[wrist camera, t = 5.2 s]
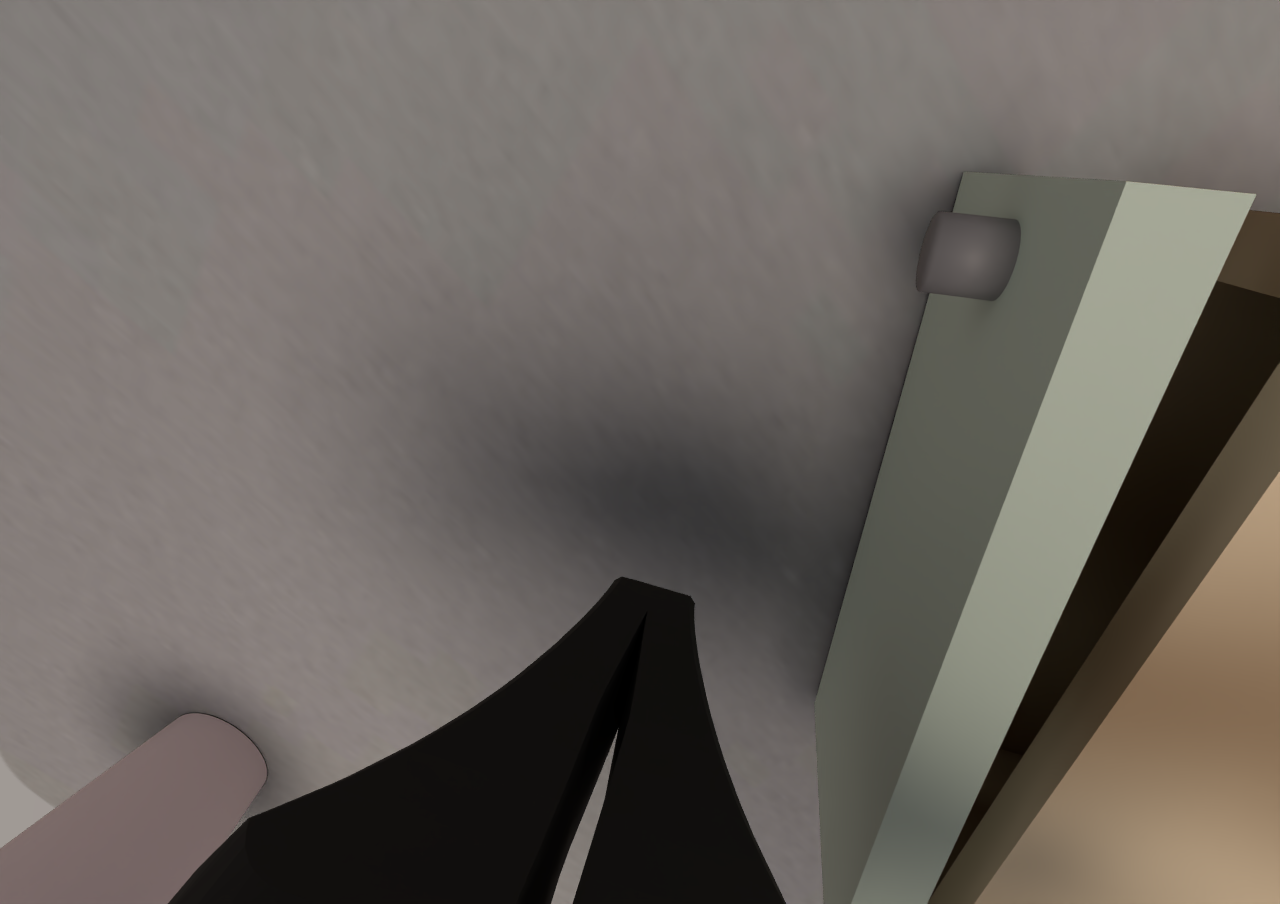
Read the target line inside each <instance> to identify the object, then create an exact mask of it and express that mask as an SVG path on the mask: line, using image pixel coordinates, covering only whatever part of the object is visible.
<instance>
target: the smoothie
mask: <svg viewBox="0 0 1280 904" xmlns="http://www.w3.org/2000/svg"><path fill="white" fill-rule="evenodd" d="M266 778H267V768H266V764H265V761H264V759H263V757H262V755H261V753H260V752H259V750H258V749H257V747H256V746H255V745H254V744H253V743H252V741H251V740H250V739H249V738H248V737H247V736H245V735H244V734H243V733H242V732H241V731H239V730H238V729H237V728H235V727H234V726H232V725H230V724H229V723H227V722H225V721H223V720H221V719H218V718H216V717H213V716H210V715H206V714H200V713H190V714H185V715H182V716H180V717H178V718H177V719H176V720H174V721H173V722H172V723H170V724H169V725H168V726H166V727H165V728H163V729H162V730H161V731H159V732H158V733H157V734H155V735H154V736H153V737H151V738H150V739H148V740H147V741H146V742H144V743H143V744H142V745H140V746H139V747H138V748H136V749H135V750H134V751H132V752H131V753H129V754H128V755H127V756H125V757H124V758H123V759H121V760H120V761H119V762H117V763H116V764H114V765H113V766H112V767H110V768H109V769H108V770H106V771H105V772H104V773H102V774H101V775H100V776H98V777H97V778H95V779H94V780H93V781H91V782H90V783H89V784H87V785H86V786H85V787H83V788H82V789H80V790H79V791H78V792H76V793H75V794H74V795H72V796H71V797H70V798H68V799H67V800H65V801H64V802H63V803H61V804H60V805H59V806H57V807H56V808H55V809H53V810H52V811H51V812H49V813H48V814H46V815H45V816H44V817H43V818H41V819H40V820H38V821H37V822H36V823H35V824H33V825H31V826H30V827H29V828H27V829H26V830H25V831H23V832H22V833H21V834H19V835H18V836H17V837H15V838H14V839H12V840H11V841H10V842H8V843H7V844H6V845H4V846H3V847H2V848H0V904H168V903H169V902H170V900H171V899H172V898H173V897H174V896H175V894H176V893H177V892H178V891H179V890H180V889H181V887H182V886H183V885H184V884H185V883H186V881H187V880H188V879H189V878H190V877H191V875H192V874H193V873H194V872H195V871H196V870H197V869H198V868H199V867H200V866H201V865H202V864H203V863H204V862H205V861H206V860H207V859H208V858H209V857H210V856H211V855H212V854H213V853H214V852H215V851H216V850H217V849H218V848H219V847H220V846H221V845H222V844H223V843H224V842H225V841H226V840H227V838H228V837H229V835H230V834H231V832H232V831H233V829H234V828H235V826H236V825H237V823H238V822H239V820H240V819H241V817H242V816H243V815H244V813H245V812H246V810H247V809H248V807H249V806H250V804H251V803H252V801H253V800H254V798H255V797H256V795H257V794H258V792H259V791H260V789H261V788H262V786H263V785H264V783H265V781H266Z"/></svg>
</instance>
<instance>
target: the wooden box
mask: <svg viewBox="0 0 1280 904" xmlns="http://www.w3.org/2000/svg"><path fill="white" fill-rule="evenodd" d="M927 904H1280V213H1272V212H1262V211H1253V210H1249V212H1248V214H1247V216H1246V218H1245V220H1244V222H1243V224H1242V227H1241V229H1240V231H1239V233H1238V235H1237V237H1236V240H1235V242H1234V244H1233V246H1232V248H1231V250H1230V252H1229V255H1228V257H1227V259H1226V261H1225V263H1224V265H1223V268H1222V270H1221V272H1220V274H1219V276H1218V278H1217V280H1216V283H1215V285H1214V287H1213V289H1212V291H1211V293H1210V296H1209V298H1208V300H1207V302H1206V304H1205V306H1204V308H1203V311H1202V313H1201V315H1200V317H1199V319H1198V321H1197V324H1196V326H1195V328H1194V330H1193V332H1192V334H1191V337H1190V339H1189V341H1188V343H1187V345H1186V347H1185V349H1184V352H1183V354H1182V356H1181V358H1180V360H1179V362H1178V365H1177V367H1176V369H1175V371H1174V373H1173V375H1172V377H1171V380H1170V382H1169V384H1168V386H1167V388H1166V390H1165V393H1164V395H1163V397H1162V399H1161V401H1160V403H1159V405H1158V408H1157V410H1156V412H1155V414H1154V416H1153V418H1152V421H1151V423H1150V425H1149V427H1148V429H1147V431H1146V433H1145V436H1144V438H1143V440H1142V442H1141V444H1140V446H1139V449H1138V451H1137V453H1136V455H1135V457H1134V459H1133V461H1132V464H1131V466H1130V468H1129V470H1128V472H1127V474H1126V477H1125V479H1124V481H1123V483H1122V485H1121V487H1120V490H1119V492H1118V494H1117V496H1116V498H1115V500H1114V502H1113V505H1112V507H1111V509H1110V511H1109V513H1108V515H1107V518H1106V520H1105V522H1104V524H1103V526H1102V528H1101V530H1100V533H1099V535H1098V537H1097V539H1096V541H1095V543H1094V546H1093V548H1092V550H1091V552H1090V554H1089V556H1088V558H1087V561H1086V563H1085V565H1084V567H1083V569H1082V571H1081V574H1080V576H1079V578H1078V580H1077V582H1076V584H1075V586H1074V589H1073V591H1072V593H1071V595H1070V597H1069V599H1068V602H1067V604H1066V606H1065V608H1064V610H1063V612H1062V614H1061V617H1060V619H1059V621H1058V623H1057V625H1056V627H1055V630H1054V632H1053V634H1052V636H1051V638H1050V640H1049V643H1048V645H1047V647H1046V649H1045V651H1044V653H1043V655H1042V658H1041V660H1040V662H1039V664H1038V666H1037V668H1036V671H1035V673H1034V675H1033V677H1032V679H1031V681H1030V683H1029V686H1028V688H1027V690H1026V692H1025V694H1024V696H1023V699H1022V701H1021V703H1020V705H1019V707H1018V709H1017V711H1016V714H1015V716H1014V718H1013V720H1012V722H1011V724H1010V727H1009V729H1008V731H1007V733H1006V735H1005V737H1004V739H1003V742H1002V744H1001V746H1000V748H999V750H998V752H997V755H996V757H995V759H994V761H993V763H992V765H991V767H990V770H989V772H988V774H987V776H986V778H985V780H984V783H983V785H982V787H981V789H980V791H979V793H978V795H977V798H976V800H975V802H974V804H973V806H972V808H971V811H970V813H969V815H968V817H967V819H966V821H965V824H964V826H963V828H962V830H961V832H960V834H959V836H958V839H957V841H956V843H955V845H954V847H953V849H952V852H951V854H950V856H949V858H948V860H947V862H946V864H945V867H944V869H943V871H942V873H941V875H940V877H939V880H938V882H937V884H936V886H935V888H934V890H933V892H932V895H931V897H930V899H929V901H928V903H927Z"/></svg>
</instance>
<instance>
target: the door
mask: <svg viewBox="0 0 1280 904" xmlns="http://www.w3.org/2000/svg"><path fill="white" fill-rule="evenodd" d="M1255 196H1256V194H1249V193H1239V192H1229V191H1219V190H1209V189H1199V188H1189V187H1179V186H1169V185H1159V184H1149V183H1139V182H1129V181H1113V180H1096V179H1079V178H1063V177H1046V176H1029V175H1012V174H995V173H978V172H964V173H963V176H962V180H961V183H960V187H959V191H958V194H957V198H956V201H955V205H954V208H953V212H944V211H938V212H937V213H936V214H935V215H934V217H933V218H932V220H931V222H930V224H929V227H928V229H927V232H926V235H925V238H924V241H923V244H922V248H921V252H920V256H919V261H918V266H917V274H916V287H917V290H918V291H919V292H925V293H930V294H929V297H928V301H927V305H926V308H925V312H924V315H923V319H922V322H921V326H920V329H919V333H918V337H917V340H916V344H915V347H914V351H913V354H912V358H911V362H910V365H909V369H908V372H907V376H906V379H905V383H904V386H903V390H902V394H901V397H900V401H899V404H898V408H897V411H896V415H895V419H894V422H893V426H892V429H891V433H890V436H889V440H888V443H887V447H886V451H885V454H884V458H883V461H882V465H881V468H880V472H879V476H878V479H877V483H876V486H875V490H874V493H873V497H872V500H871V504H870V508H869V511H868V515H867V518H866V522H865V525H864V529H863V533H862V536H861V540H860V543H859V547H858V550H857V554H856V557H855V561H854V565H853V568H852V572H851V575H850V579H849V582H848V586H847V590H846V593H845V597H844V600H843V604H842V607H841V611H840V614H839V618H838V622H837V625H836V629H835V632H834V636H833V639H832V643H831V646H830V650H829V654H828V657H827V661H826V664H825V668H824V671H823V675H822V679H821V682H820V686H819V689H818V693H817V696H816V700H815V703H814V708H815V729H816V751H817V772H818V794H819V815H820V837H821V858H822V879H823V901H824V904H927V903H928V901H929V899H930V897H931V895H932V892H933V890H934V888H935V886H936V884H937V882H938V880H939V877H940V875H941V873H942V871H943V869H944V867H945V864H946V862H947V860H948V858H949V856H950V854H951V852H952V849H953V847H954V845H955V843H956V841H957V839H958V836H959V834H960V832H961V830H962V828H963V826H964V824H965V821H966V819H967V817H968V815H969V813H970V811H971V808H972V806H973V804H974V802H975V800H976V798H977V795H978V793H979V791H980V789H981V787H982V785H983V783H984V780H985V778H986V776H987V774H988V772H989V770H990V767H991V765H992V763H993V761H994V759H995V757H996V755H997V752H998V750H999V748H1000V746H1001V744H1002V742H1003V739H1004V737H1005V735H1006V733H1007V731H1008V729H1009V727H1010V724H1011V722H1012V720H1013V718H1014V716H1015V714H1016V711H1017V709H1018V707H1019V705H1020V703H1021V701H1022V699H1023V696H1024V694H1025V692H1026V690H1027V688H1028V686H1029V683H1030V681H1031V679H1032V677H1033V675H1034V673H1035V671H1036V668H1037V666H1038V664H1039V662H1040V660H1041V658H1042V655H1043V653H1044V651H1045V649H1046V647H1047V645H1048V643H1049V640H1050V638H1051V636H1052V634H1053V632H1054V630H1055V627H1056V625H1057V623H1058V621H1059V619H1060V617H1061V614H1062V612H1063V610H1064V608H1065V606H1066V604H1067V602H1068V599H1069V597H1070V595H1071V593H1072V591H1073V589H1074V586H1075V584H1076V582H1077V580H1078V578H1079V576H1080V574H1081V571H1082V569H1083V567H1084V565H1085V563H1086V561H1087V558H1088V556H1089V554H1090V552H1091V550H1092V548H1093V546H1094V543H1095V541H1096V539H1097V537H1098V535H1099V533H1100V530H1101V528H1102V526H1103V524H1104V522H1105V520H1106V518H1107V515H1108V513H1109V511H1110V509H1111V507H1112V505H1113V502H1114V500H1115V498H1116V496H1117V494H1118V492H1119V490H1120V487H1121V485H1122V483H1123V481H1124V479H1125V477H1126V474H1127V472H1128V470H1129V468H1130V466H1131V464H1132V461H1133V459H1134V457H1135V455H1136V453H1137V451H1138V449H1139V446H1140V444H1141V442H1142V440H1143V438H1144V436H1145V433H1146V431H1147V429H1148V427H1149V425H1150V423H1151V421H1152V418H1153V416H1154V414H1155V412H1156V410H1157V408H1158V405H1159V403H1160V401H1161V399H1162V397H1163V395H1164V393H1165V390H1166V388H1167V386H1168V384H1169V382H1170V380H1171V377H1172V375H1173V373H1174V371H1175V369H1176V367H1177V365H1178V362H1179V360H1180V358H1181V356H1182V354H1183V352H1184V349H1185V347H1186V345H1187V343H1188V341H1189V339H1190V337H1191V334H1192V332H1193V330H1194V328H1195V326H1196V324H1197V321H1198V319H1199V317H1200V315H1201V313H1202V311H1203V308H1204V306H1205V304H1206V302H1207V300H1208V298H1209V296H1210V293H1211V291H1212V289H1213V287H1214V285H1215V283H1216V280H1217V278H1218V276H1219V274H1220V272H1221V270H1222V268H1223V265H1224V263H1225V261H1226V259H1227V257H1228V255H1229V252H1230V250H1231V248H1232V246H1233V244H1234V242H1235V240H1236V237H1237V235H1238V233H1239V231H1240V229H1241V227H1242V224H1243V222H1244V220H1245V218H1246V216H1247V214H1248V212H1249V209H1250V207H1251V205H1252V203H1253V201H1254V199H1255Z"/></svg>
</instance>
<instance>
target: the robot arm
mask: <svg viewBox="0 0 1280 904" xmlns="http://www.w3.org/2000/svg"><path fill="white" fill-rule="evenodd" d="M694 607H695V603H694V601H693V600H692V598H691V596H688V595H685V594H681V593H678V592H674V591H671V590H667V589H664V588H660V587H657V586H653V585H650V584H647V583H643V582H640V581H636V580H633V579H629V578H626V577H620V578H618V579H616V580H615V581H614V582H613V584H612V585H611V586H610V588H609V589H608V590H607V591H606V593H605V594H604V595H603V596H602V597H601V599H600V600H599V601H598V602H597V603H596V604H595V605H594V606H593V607H592V609H591V610H590V611H589V612H588V613H587V614H586V615H585V616H584V617H583V618H582V619H581V620H580V621H579V622H578V623H577V624H576V625H575V626H574V627H573V628H572V629H570V630H569V631H568V632H567V633H566V634H565V635H564V636H563V637H562V638H561V639H560V640H559V641H558V642H557V643H556V644H555V645H553V646H552V647H551V648H550V649H549V650H548V651H546V652H545V653H544V654H543V655H542V656H540V657H539V658H538V659H537V660H536V661H534V662H533V663H532V664H531V665H530V666H528V667H527V668H526V669H525V670H524V671H522V672H521V673H520V674H519V675H517V676H516V677H515V678H513V679H512V680H511V681H509V682H508V683H507V684H505V685H504V686H503V687H501V688H500V689H499V690H497V691H496V692H494V693H493V694H492V695H490V696H489V697H487V698H486V699H484V700H483V701H481V702H480V703H478V704H477V705H476V706H474V707H473V708H471V709H470V710H468V711H466V712H465V713H463V714H462V715H460V716H458V717H457V718H455V719H454V720H452V721H450V722H449V723H447V724H445V725H444V726H442V727H441V728H439V729H437V730H436V731H434V732H432V733H431V734H429V735H427V736H425V737H424V738H422V739H420V740H418V741H417V742H415V743H413V744H411V745H409V746H408V747H406V748H404V749H402V750H400V751H398V752H396V753H394V754H392V755H390V756H388V757H386V758H384V759H382V760H380V761H378V762H376V763H374V764H372V765H370V766H368V767H366V768H364V769H362V770H360V771H358V772H356V773H354V774H352V775H350V776H348V777H346V778H344V779H341V780H339V781H337V782H335V783H333V784H330V785H328V786H326V787H323V788H321V789H318V790H316V791H314V792H311V793H309V794H307V795H304V796H302V797H299V798H297V799H295V800H292V801H290V802H287V803H285V804H283V805H280V806H278V807H275V808H273V809H271V810H268V811H266V812H263V813H261V814H258V815H256V816H253V817H250V818H248V819H247V820H246V821H245V822H244V823H243V824H242V825H241V826H240V827H239V828H238V829H237V830H236V831H235V832H234V833H233V834H232V835H231V836H230V837H229V838H228V839H227V840H226V841H225V842H224V843H223V844H222V845H221V846H220V847H219V848H218V849H217V850H216V851H215V852H214V853H213V854H212V855H211V856H210V857H209V858H208V859H207V860H206V861H205V862H204V863H203V864H202V865H201V866H200V867H199V868H198V869H197V870H196V871H195V872H194V873H193V874H192V875H191V877H190V878H189V879H188V880H187V881H186V883H185V884H184V885H183V886H182V887H181V889H180V890H179V891H178V892H177V893H176V894H175V896H174V897H173V898H172V899H171V900H170V902H169V903H168V904H551V902H552V898H553V895H554V892H555V889H556V886H557V882H558V879H559V876H560V873H561V871H562V868H563V865H564V862H565V860H566V857H567V854H568V851H569V849H570V846H571V843H572V841H573V839H574V836H575V834H576V831H577V829H578V826H579V824H580V821H581V819H582V816H583V814H584V812H585V809H586V807H587V804H588V802H589V799H590V797H591V794H592V792H593V789H594V787H595V784H596V782H597V780H598V777H599V775H600V772H601V770H602V767H603V765H604V762H605V760H606V757H607V755H608V752H609V750H610V747H611V745H612V743H613V740H614V738H615V735H616V733H617V730H618V734H617V739H616V744H615V749H614V754H613V759H612V764H611V770H610V775H609V780H608V785H607V790H606V795H605V800H604V804H603V807H602V810H601V814H600V817H599V820H598V823H597V827H596V830H595V833H594V836H593V840H592V843H591V846H590V849H589V853H588V856H587V859H586V862H585V866H584V869H583V872H582V875H581V879H580V882H579V885H578V888H577V891H576V895H575V898H574V901H573V904H786V902H785V900H784V898H783V896H782V894H781V892H780V890H779V888H778V886H777V884H776V882H775V879H774V877H773V875H772V873H771V871H770V869H769V867H768V865H767V863H766V861H765V858H764V856H763V854H762V852H761V850H760V848H759V846H758V844H757V842H756V840H755V837H754V835H753V833H752V831H751V828H750V826H749V823H748V821H747V818H746V816H745V814H744V811H743V809H742V806H741V804H740V801H739V799H738V796H737V794H736V791H735V788H734V786H733V783H732V780H731V777H730V775H729V772H728V769H727V766H726V763H725V760H724V757H723V754H722V751H721V748H720V745H719V742H718V738H717V735H716V731H715V728H714V724H713V721H712V717H711V713H710V709H709V705H708V701H707V697H706V693H705V688H704V683H703V678H702V674H701V669H700V664H699V658H698V651H697V644H696V636H695V624H694ZM618 728H619V729H618Z"/></svg>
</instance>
